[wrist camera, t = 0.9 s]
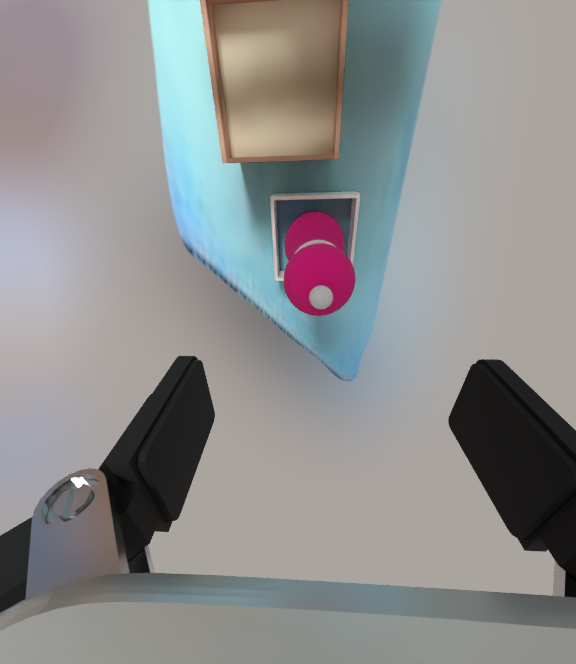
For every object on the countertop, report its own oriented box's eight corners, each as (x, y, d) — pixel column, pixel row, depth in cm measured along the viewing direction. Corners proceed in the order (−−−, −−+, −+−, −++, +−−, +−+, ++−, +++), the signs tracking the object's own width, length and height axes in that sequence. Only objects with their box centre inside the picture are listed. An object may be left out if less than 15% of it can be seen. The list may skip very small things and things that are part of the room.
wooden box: (225, 29, 25) (197, -17, 19) (338, 22, 25) (350, -29, 18) (240, 162, 31) (222, 163, 25) (331, 159, 31) (338, 159, 24)
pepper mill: (312, 193, 33) (322, 227, 16) (351, 233, 35) (394, 300, 18) (275, 237, 36) (251, 305, 19) (313, 272, 38) (321, 358, 21)
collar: (272, 193, 33) (270, 196, 30) (356, 191, 32) (360, 194, 30) (277, 273, 39) (275, 280, 36) (348, 272, 38) (351, 280, 35)
